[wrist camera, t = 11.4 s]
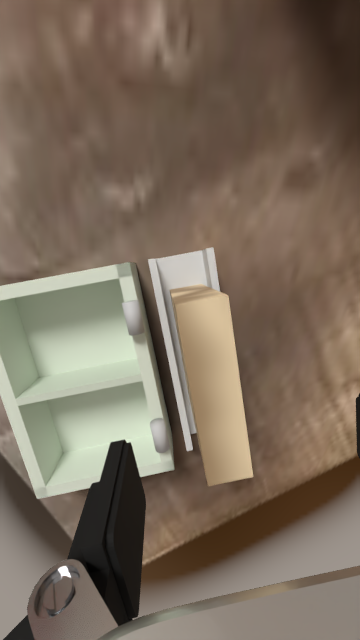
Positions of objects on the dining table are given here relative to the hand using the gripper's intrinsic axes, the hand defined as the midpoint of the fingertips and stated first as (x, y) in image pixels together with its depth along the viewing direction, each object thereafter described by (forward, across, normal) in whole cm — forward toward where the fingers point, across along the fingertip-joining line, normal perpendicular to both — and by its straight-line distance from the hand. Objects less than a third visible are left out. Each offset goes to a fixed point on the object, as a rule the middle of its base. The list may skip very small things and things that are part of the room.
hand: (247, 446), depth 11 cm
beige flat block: (+15, 0, +1) cm, 15 cm away
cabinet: (+16, +6, +1) cm, 17 cm away
